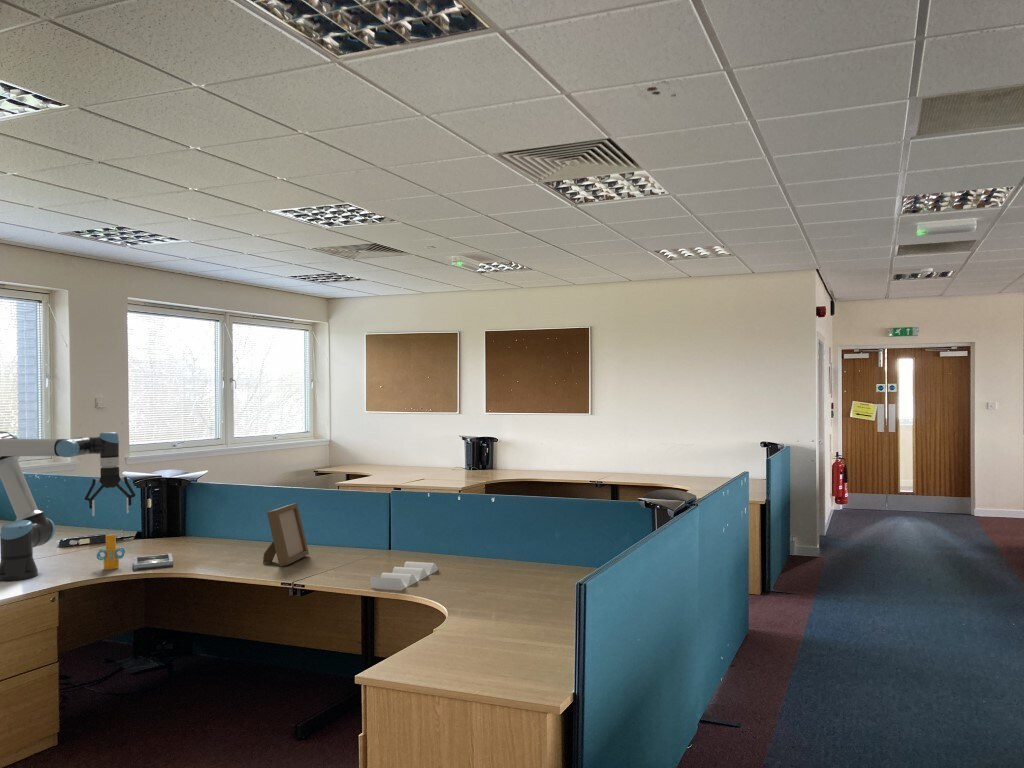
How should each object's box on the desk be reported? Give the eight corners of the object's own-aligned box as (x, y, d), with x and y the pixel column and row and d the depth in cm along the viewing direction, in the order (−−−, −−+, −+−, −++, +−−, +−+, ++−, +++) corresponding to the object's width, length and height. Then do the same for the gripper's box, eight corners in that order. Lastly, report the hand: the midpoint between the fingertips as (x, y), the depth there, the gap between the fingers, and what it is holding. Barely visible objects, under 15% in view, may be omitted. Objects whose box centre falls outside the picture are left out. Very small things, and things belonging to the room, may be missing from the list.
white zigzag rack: (438, 571, 337) (438, 559, 337) (400, 592, 304) (400, 578, 304) (411, 569, 341) (411, 557, 341) (370, 589, 308) (370, 576, 308)
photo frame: (309, 556, 369) (308, 503, 369) (288, 566, 347) (287, 510, 347) (279, 555, 371) (278, 502, 371) (257, 566, 350) (256, 510, 350)
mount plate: (133, 570, 345) (133, 564, 345) (133, 562, 361) (133, 557, 361) (173, 566, 352) (173, 560, 352) (171, 558, 368) (171, 553, 368)
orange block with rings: (131, 565, 355) (130, 532, 355) (117, 571, 345) (116, 537, 345) (105, 565, 356) (105, 532, 356) (91, 571, 346) (90, 537, 346)
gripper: (77, 469, 342) (78, 518, 342) (140, 465, 353) (141, 513, 352) (78, 467, 348) (79, 515, 348) (140, 464, 359) (141, 510, 359)
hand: (110, 514), depth 350 cm, fingers open, 13 cm apart
